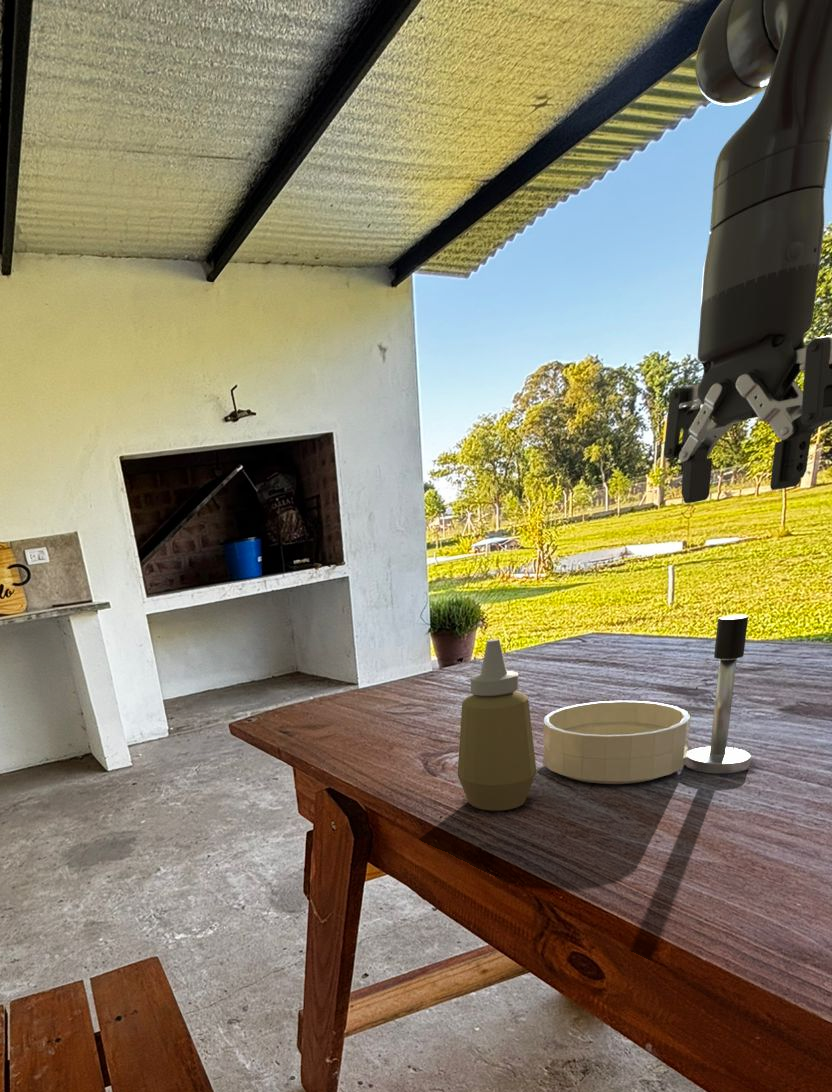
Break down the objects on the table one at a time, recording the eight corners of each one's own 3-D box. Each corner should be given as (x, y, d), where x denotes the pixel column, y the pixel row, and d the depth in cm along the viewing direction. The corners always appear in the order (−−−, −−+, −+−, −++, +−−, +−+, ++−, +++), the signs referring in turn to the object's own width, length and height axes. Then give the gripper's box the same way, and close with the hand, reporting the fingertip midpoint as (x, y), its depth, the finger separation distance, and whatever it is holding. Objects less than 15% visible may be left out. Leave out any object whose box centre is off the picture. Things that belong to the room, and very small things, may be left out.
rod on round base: (715, 753, 71) (731, 611, 65) (763, 766, 65) (785, 612, 60) (672, 763, 70) (684, 621, 64) (717, 777, 65) (735, 623, 59)
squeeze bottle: (540, 789, 70) (541, 629, 63) (531, 818, 63) (532, 644, 57) (466, 787, 74) (460, 636, 68) (451, 814, 68) (443, 651, 61)
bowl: (618, 739, 80) (620, 694, 78) (718, 769, 67) (724, 716, 64) (518, 763, 78) (518, 717, 76) (601, 798, 65) (603, 745, 63)
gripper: (898, 229, 44) (859, 475, 50) (717, 311, 58) (702, 498, 63) (810, 243, 44) (780, 491, 49) (647, 323, 57) (638, 512, 63)
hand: (736, 495), depth 56 cm, fingers open, 8 cm apart
